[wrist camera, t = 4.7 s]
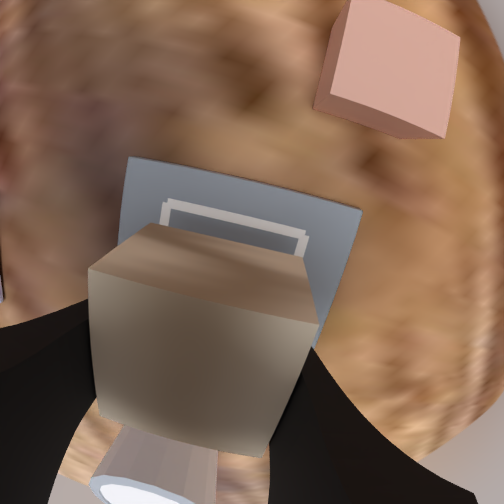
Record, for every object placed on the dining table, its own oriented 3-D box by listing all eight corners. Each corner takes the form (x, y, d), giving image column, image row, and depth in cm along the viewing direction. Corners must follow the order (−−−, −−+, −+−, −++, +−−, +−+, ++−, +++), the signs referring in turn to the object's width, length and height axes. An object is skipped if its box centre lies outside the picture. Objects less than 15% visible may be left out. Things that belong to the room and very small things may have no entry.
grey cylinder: (158, 366, 16) (113, 463, 10) (252, 425, 18) (243, 521, 11) (112, 414, 18) (74, 490, 12) (192, 461, 19) (174, 538, 13)
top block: (312, 109, 12) (329, 93, 8) (331, 28, 11) (353, -11, 7) (399, 138, 12) (444, 138, 8) (415, 60, 11) (459, 37, 7)
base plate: (118, 327, 16) (113, 333, 15) (134, 156, 13) (128, 156, 12) (299, 372, 16) (300, 380, 15) (359, 208, 13) (363, 211, 12)
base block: (140, 344, 12) (99, 415, 8) (150, 222, 10) (87, 267, 6) (265, 375, 12) (261, 458, 8) (302, 257, 10) (319, 325, 6)
